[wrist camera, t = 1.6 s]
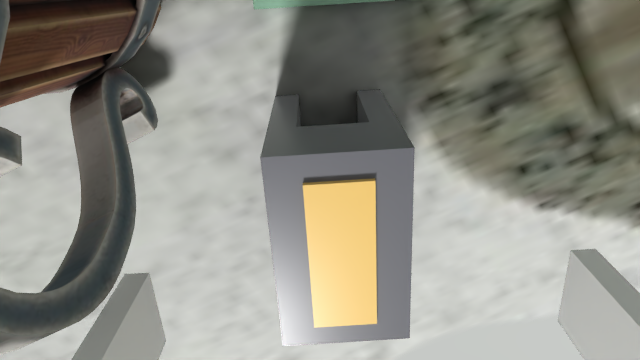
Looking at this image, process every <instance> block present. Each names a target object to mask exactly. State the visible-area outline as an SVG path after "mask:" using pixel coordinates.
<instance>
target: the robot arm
mask: <svg viewBox="0 0 640 360" xmlns="http://www.w3.org/2000/svg"><path fill="white" fill-rule="evenodd" d="M558 322H559V324H560V325H561V327H562V328H563V329H564V331H565V332H566V334H567V335H568V337H569V338H570V340H571V341H572V342H573V344H574V345H575V347H576V348H577V350H578V351H579V353H580V354H581V356H582V357H583V358H584V360H640V293H639V292H638V291H637V290H636V289H635V288H634V287H633V286H632V285H631V284H630V283H629V282H628V281H627V280H626V279H625V278H624V277H623V276H622V275H621V274H620V273H619V272H618V271H617V270H616V269H615V268H614V267H613V266H612V265H611V264H610V263H609V262H608V261H607V260H606V259H605V258H604V257H603V256H602V255H601V254H600V253H599V252H598V251H597V250H596V249H587V250H571V251H570V257H569V262H568V267H567V273H566V278H565V283H564V289H563V294H562V299H561V305H560V310H559V315H558ZM165 342H166V338H165V334H164V330H163V326H162V322H161V318H160V314H159V310H158V306H157V302H156V298H155V294H154V290H153V286H152V282H151V278H150V274H149V273H138V274H125V275H124V277H123V278H122V280H121V281H120V283H119V285H118V286H117V288H116V289H115V291H114V293H113V294H112V296H111V297H110V299H109V301H108V302H107V304H106V305H105V307H104V309H103V310H102V312H101V313H100V315H99V317H98V318H97V320H96V321H95V323H94V325H93V326H92V328H91V329H90V331H89V333H88V334H87V336H86V337H85V339H84V341H83V342H82V344H81V345H80V347H79V349H78V350H77V352H76V353H75V355H74V357H73V358H72V360H158V359H159V357H160V354H161V352H162V349H163V347H164V345H165Z"/></svg>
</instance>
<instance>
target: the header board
mask: <svg viewBox="0 0 640 360" xmlns="http://www.w3.org/2000/svg"><path fill="white" fill-rule="evenodd" d="M377 1H393V0H253V5H254V9H268V8H284V7H299V6H315V5H330V4H346V3H362V2H377Z"/></svg>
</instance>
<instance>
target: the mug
mask: <svg viewBox="0 0 640 360" xmlns="http://www.w3.org/2000/svg"><path fill="white" fill-rule="evenodd" d="M160 1H161V0H0V107H3V106H6V105H9V104H12V103H15V102H19V101H22V100H25V99H28V98H31V97H34V96H37V95H40V94H46V93H59V92H64V91H67V90H70V89H73V88H76V87H77V88H76V89H75V91H74V93H73V94H72V98H71V103H70V115H71V123H72V130H73V136H74V141H75V147H76V152H77V158H78V164H79V171H80V180H81V214H80V219H79V224H78V229H77V231H76V234H75V237H74V239H73V242H72V244H71V246H70V248H69V250H68V252H67V254H66V256H65V258H64V260H63V262H62V264H61V266H60V268H59V269H58V271H57V273H56V274H55V276H54V277H53V279H52V280H51V282H50V283H49V284H48V285H47V286H46V287H45V288H44V289H43V291H42V292H41V293H16V292H13V291H10V290H6V289H3V288H0V355H1V354H5V353H8V352H12V351H15V350H18V349H20V348H22V347H24V346H27V345H29V344H31V343H33V342H35V341H38V340H40V339H42V338H44V337H46V336H48V335H51V334H53V333H55V332H57V331H59V330H62V329H64V328H66V327H68V326H70V325H72V324H74V323H76V322H79V321H81V320H82V319H83V318H85V317H86V316H87V315H89V314H90V313H91V312H93V311H94V310H95V309H96V308H97V307H98V306H99V304H100V303H101V302H102V301H103V300H104V299H105V298H106V296H107V295H108V293H109V292H110V291H111V289H112V288H113V286H114V284H115V282H116V280H117V278H118V276H119V274H120V271H121V268H122V266H123V263H124V261H125V258H126V255H127V252H128V249H129V246H130V243H131V239H132V234H133V230H134V225H135V215H136V194H135V184H134V176H133V169H132V163H131V158H130V154H129V149H128V144H129V143H131V142H133V141H135V140H137V139H138V138H140V137H142V136H144V135H146V134H148V133H150V132H152V131H154V130H155V128H156V127H157V122H158V119H157V114H156V110H155V108H154V106H153V103H152V101H151V99H150V97H149V96H148V94H147V93H146V91H145V90H144V88H143V87H142V86H141V84H140V83H139V82H138V81H137V80H136V79H135V78H134V77H133V76H132V75H130V74H129V73H128V72H126V71H125V70H123V69H120V68H119V67H121V66H122V65H123V64H125V63H126V62H127V61H128V60H130V59H131V58H132V57H133V56H134V55H135V53H136V52H137V51H138V49H139V48H140V46H141V45H143V44H144V42H145V41H146V39H147V37H148V36H149V34H150V33H151V31H152V29H153V28H154V26H155V23H156V20H157V18H158V15H159V12H160V10H161V5H160ZM20 166H22V153H21V136H19V135H17V134H15V133H13V132H11V131H9V130H7V129H5V128H2V127H0V177H1V176H3V175H5V174H7V173H9V172H11V171H12V170H14V169H16V168H18V167H20Z"/></svg>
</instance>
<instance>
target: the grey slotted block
mask: <svg viewBox="0 0 640 360" xmlns="http://www.w3.org/2000/svg"><path fill="white" fill-rule="evenodd" d="M357 116H358V123H348V124H333V125H317V126H301V121H300V108H299V95H284V96H275V100H274V104H273V108H272V112H271V116H270V121H269V125H268V129H267V133H266V137H265V141H264V145H263V149H262V153H261V157H260V158H261V166H262V175H263V183H264V192H265V200H266V208H267V217H268V225H269V234H270V242H271V251H272V259H273V267H274V276H275V284H276V293H277V301H278V310H279V318H280V326H281V335H282V343H283V346H292V345H308V344H324V343H340V342H356V341H371V340H387V339H403V338H410V299H411V260H412V221H413V182H414V146H413V145H412V143H411V141H410V140H409V138H408V136H407V134H406V133H405V131H404V129H403V128H402V126H401V124H400V123H399V121H398V119H397V118H396V116H395V114H394V113H393V111H392V109H391V107H390V106H389V104H388V102H387V101H386V99H385V97H384V96H383V94H382V92H381V91H380V89H378V90H363V91H357Z"/></svg>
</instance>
